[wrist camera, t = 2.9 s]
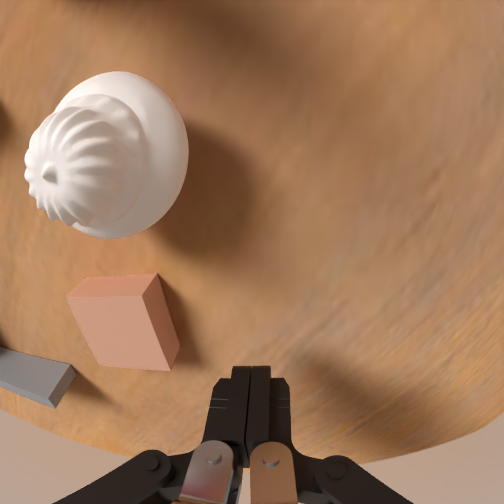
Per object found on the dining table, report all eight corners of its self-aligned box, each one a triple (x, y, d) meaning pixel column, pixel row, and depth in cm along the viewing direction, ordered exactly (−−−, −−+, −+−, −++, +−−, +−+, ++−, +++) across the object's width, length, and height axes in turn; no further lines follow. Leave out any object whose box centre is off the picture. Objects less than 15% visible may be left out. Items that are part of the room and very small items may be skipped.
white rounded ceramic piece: (101, 79, 11) (-8, 69, 5) (223, 90, 11) (167, 54, 5) (86, 198, 14) (-10, 254, 7) (195, 223, 14) (135, 309, 7)
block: (159, 270, 15) (141, 295, 13) (181, 342, 17) (170, 371, 15) (87, 275, 16) (65, 297, 14) (114, 340, 18) (99, 365, 16)
